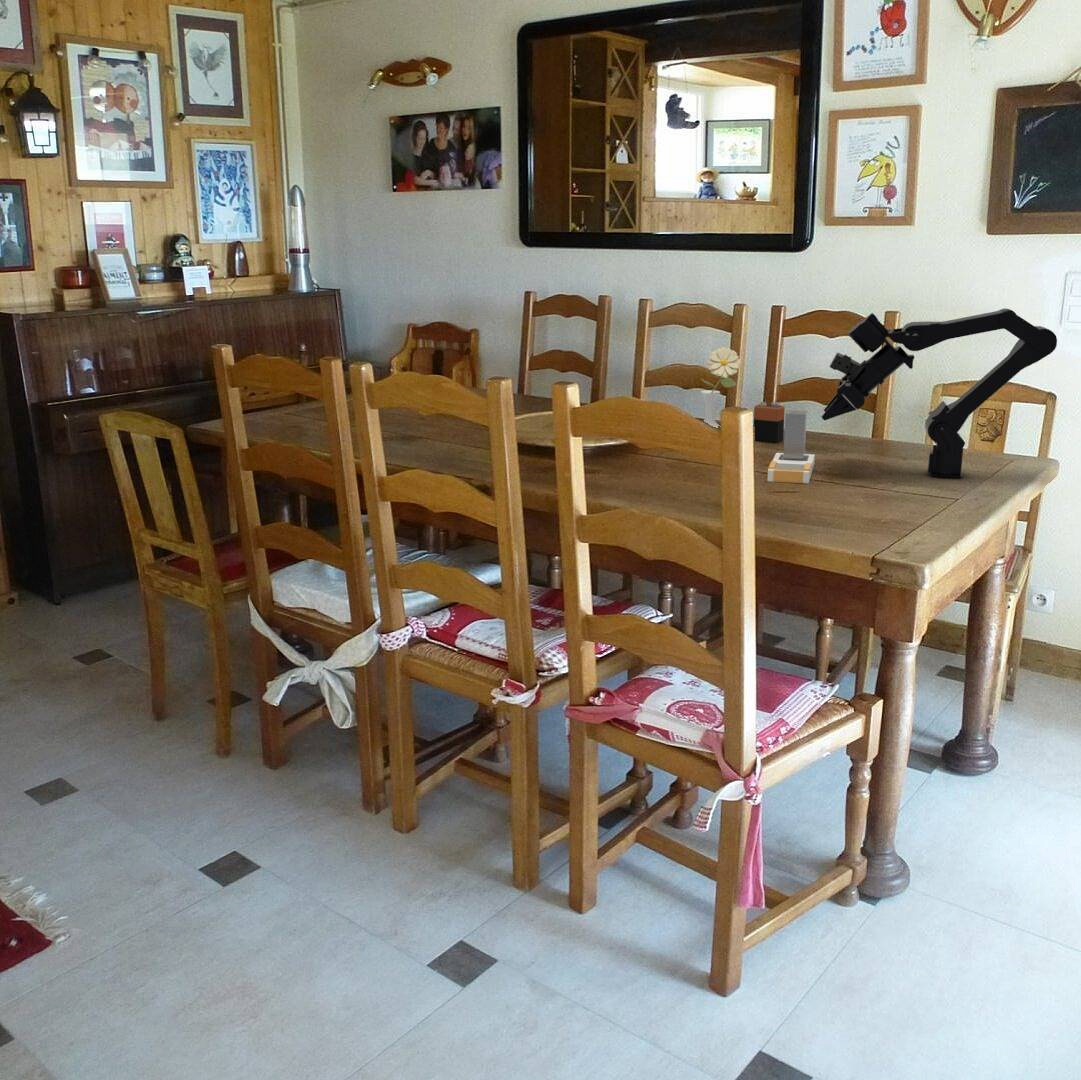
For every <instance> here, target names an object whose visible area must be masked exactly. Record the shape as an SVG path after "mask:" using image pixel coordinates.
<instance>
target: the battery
mask: <svg viewBox="0 0 1081 1080" xmlns="http://www.w3.org/2000/svg"><path fill="white" fill-rule="evenodd" d="M785 409H786V407H785V406H784V405H781V404H780V402H775V401H773V402H770V404H767V402H766V401H761V402H760V403H759V404H757V405H755V406H754V408H753V427H754V426H755V442H763V443H771V444H772V443H773V444H776V443H777V444H778V443H779V442H782V441H784V433H785Z"/></svg>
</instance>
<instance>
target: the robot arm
mask: <svg viewBox="0 0 1081 1080" xmlns="http://www.w3.org/2000/svg"><path fill="white" fill-rule="evenodd" d="M998 330H1005V331H1007V332H1009V334H1011V335H1013V336H1014V337H1016V338H1017V341H1016V343H1015V344H1014V346H1013V347H1012V349H1011V350H1010V352H1009V353H1008V355H1006V357H1005V358H1004V359H1002V360H1001V361H1000V362H999V363H998V364H996V365H995V366H994V367H993V368H992V369H991V370H989V371H988V372H987V373H986V374H985V375H984V376H983V377H981V379H979V380H978V381H977V382H976V383H975V384H974V385H972V386H971V387H970V388H969V389H968V390H967V391H965V392H964V393H963V394H962V395H961V396H960V397H959V398H957V400H955V401H953V402H951V403H950V404H947V403H946V402H945V401H944V400H943V401H941V402H940V403H938V405H937V407H935V408H934V410H931V411H930V412H928V415H929V416H928V417H927V418H926V420H925V422H924V428H925V431H926V434H927V435H928V437H929V438H930V440H931V441H933V442H934V444H935V445H934V444H933V445H932V448H931V449H932V450H931V451H929V453H928V461H927V473H929V476H930V477H935V478H936V477H937V478H954V479H957V478H958V479H961V478H963V476H962V464H963V457H964V447H965V445H966V441H964V439H963V437H962V436H961V435H960V433H959V431H960V430H961V429H962V427H963V426H964V424H965V422H966V421H967V419H968V418H969V416H971V414H972V413H974V411H976V410H977V409H978V408H979V407H981V406H982V405H983V404H984V403H985V402H986V401H987V400H989V399H990V398H991V397H992V396H994V394H996V393H997V392H998V391H999V390H1000V389H1001V388H1003V387H1004V386H1005V385H1006V384H1007V383H1009V381H1010V380H1011V379H1012V378H1014V377H1015V376H1017V374H1018V373H1020V372H1021V371H1022V370H1024V369H1026V368H1028V367H1030V366H1032V365H1034V364H1035V363H1038V362H1039V361H1041V360H1043V359H1044V358H1046V357H1047V356H1049V355H1051V354H1052V353H1053V352H1054V351H1055V350H1056V348H1057V346H1058V338H1057V335H1056V333H1054V331H1052V330H1051V329H1049V328H1046V327H1044V326H1040V325H1038V326H1037V325H1033V324H1032V323H1030V322H1028V321H1027V320H1026V319H1024V318H1022V317H1021V316H1020V315H1018V314H1017V313H1016V312H1015V311H1014V310H1011V309H1010V308H1001V309H998V310H997V311H996V310H994V311H990V312H986V313H980V314H976V315H969V316H965V317H960V318H955V319H954V318H953V319H950V320H945V321H944V320H943V321H929V320H928V321H911V322H908V323H906V324H904V326H903V327H898V328H891V329H887V328H886V327H885V326H884V324H883V323H882V322H881V321H880V320H879V319H878V316H876V315H875V313H873V312H871V313H869V315H867V316H866V317H864V318H863V319H862V320H861V321H858V322H857V324H855V325H854V326H853V327H852V328H851V329H850V330H849V331H848V333H847V335H848V336H849V337H850V338H851V340H852V341H854V343H855V344H856V345H857V346H858V347H859V348H860V349H861V350H862V351H863V352H864V353H867V352H868V351H869V352H870V353H872V354H873V353H874V352H875V353H874V354H873V355H872V356H870V358H869V359H865V360H863V361H862V362H858V361H856V360H854V359H852V356H848V355H847V354H842V353H840V352H836V354H835V355H834V357H833V359H832V361H831V363H830V365H829V368H830V369H832V370H834V371H838V372H841V373H843V374H844V375H843V376H842V377H841V379H840V380H839V387H838V388H837V390H836V394H835V395H834V396H833V398H831V400H830V401H829V402H828V403H827V405H826V407H824V409H823V411H824V413H823V414H822V415H821V419H822V420H823V421H827V420H831V419H833V418H836V417H839V416H843V415H845V414H847V413H850V412H854V411H857V410H860V409H861V408H862V407H863V406H864V405H865V404H866V398H867V397H868V396H869V395H870V393H871V392H872V391H874V390H875V389H876V388H877V387H878V386H879V385H882V384H883V383H884V382H885V380H886V379H887V378H889V377H890V376H891V375H892V374H893V373H895V372H896V371H897V369H899V368H901V367H902V366H903V365H904V364H905V366H907V367H908V369H910V370H912V369H913V368H914V366H913V365H914V361H915V355H914V354H908V353H907V352H906V351H905V350H904V348H905V349H907V350H909V351H911V352H919V351H922V350H924V349H927V348H929V347H930V348H931V347H933V346H935V345H937V344H940V343H942V342H945V341H947V340H951V339H956V338H962V337H967V336H973V335H978V334H983V333H988V332H992V331H993V332H994V331H998ZM887 338H889V339H890V340H891V341H892V342H893V343H894V344H900V345H903V347H904V348H902V347H901V346H900V345H898V346H896V347H895V346H894V345H893V344H892V343H891V342H890V341H889V340H888V339H887ZM884 343H885V344H884ZM881 346H882V347H881ZM880 347H881V348H880ZM879 348H880V349H879ZM877 350H878V351H877Z"/></svg>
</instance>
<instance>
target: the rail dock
mask: <svg viewBox="0 0 1081 1080" xmlns="http://www.w3.org/2000/svg"><path fill="white" fill-rule="evenodd" d="M783 455H784V452H776V453H775V455H774V456H773V459H772V461H771V462H770V464H769V466H768V468H767V480H766V481H767V482H770V483H771V482H772V483H795V484H809V483H810V481H811V477H812V474H813V472H814V471H813V470H814V467H815V459H816V454H810V453H805V455H804V461H793V460H783Z"/></svg>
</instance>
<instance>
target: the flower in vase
mask: <svg viewBox="0 0 1081 1080" xmlns="http://www.w3.org/2000/svg"><path fill="white" fill-rule="evenodd" d="M739 358H740V357H739V355H738V354H737V352H736V351H735V350H733V349H731V348H729V347H728V348H727V347H724V346H722V347H721V348H717V349H716V350H714V351H711V353H710V355H709V358H708V359H707V364H706V365H707V366H708V367H709V368H708V369H709V371H711V372H710V373H711V374H712V375H715V376H716V377H719V380H718V382H717V383H716V385H714V384H713V383H712V382H709V381H707V380H705V379H703V378H702V377H700V380H701V381H702V382H703V383H704V384H706V385H709V386H711V387H713V388H712V390H708V389H707V390H701V391H700V394H701V396H702V397H703V401H704V406H705V407H704V408H705V409H704V410H705V413H704V414H705V415H704V420H703V421H704V422H706V423H708V424H709V425H711V426H713V427H716V428H718V426H720V424H718V423H717V421H716V419H715V407H716V403H717V398H718V397H719V396H720V394H721V391H719V390H716V388H717V387H718V386H719V384H721V385H722V387H724V388H727V389H728V388H732V387H735V386H738V384H737V382H736V381H734V380H733V379H732V378H730V376H734V375H735V374H737V373H738V371H739V370H738V369H739V368H740V365H741V359H739Z"/></svg>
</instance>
